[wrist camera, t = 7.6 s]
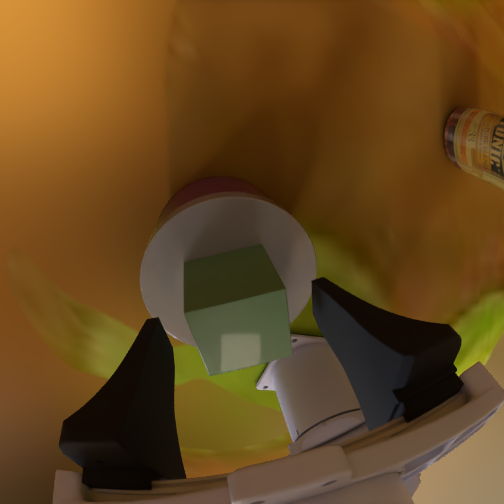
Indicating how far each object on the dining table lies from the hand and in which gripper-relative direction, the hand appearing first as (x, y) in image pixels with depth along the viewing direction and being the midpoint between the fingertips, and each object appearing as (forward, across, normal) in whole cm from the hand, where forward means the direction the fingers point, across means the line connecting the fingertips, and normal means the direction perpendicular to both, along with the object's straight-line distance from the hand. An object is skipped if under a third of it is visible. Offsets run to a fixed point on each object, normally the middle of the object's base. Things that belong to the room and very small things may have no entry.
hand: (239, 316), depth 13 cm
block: (+2, 0, 0) cm, 3 cm away
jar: (+8, 0, 0) cm, 8 cm away
